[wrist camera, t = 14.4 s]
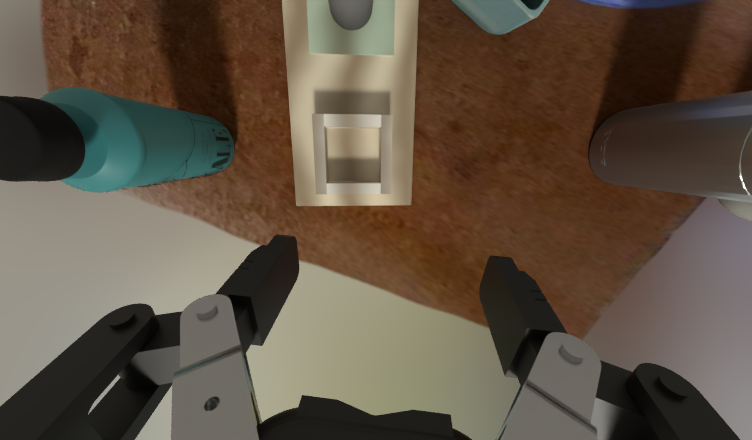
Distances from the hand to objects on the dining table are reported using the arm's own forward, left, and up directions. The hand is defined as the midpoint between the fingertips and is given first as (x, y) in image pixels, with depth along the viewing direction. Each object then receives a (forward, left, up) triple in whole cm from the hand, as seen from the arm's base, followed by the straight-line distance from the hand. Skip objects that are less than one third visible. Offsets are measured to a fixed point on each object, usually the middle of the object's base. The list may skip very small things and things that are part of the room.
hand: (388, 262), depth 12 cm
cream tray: (+2, -11, -23) cm, 26 cm away
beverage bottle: (+18, -5, -23) cm, 30 cm away
